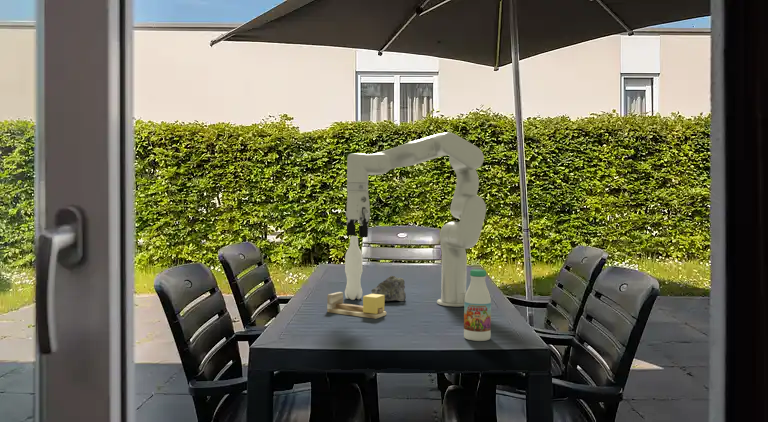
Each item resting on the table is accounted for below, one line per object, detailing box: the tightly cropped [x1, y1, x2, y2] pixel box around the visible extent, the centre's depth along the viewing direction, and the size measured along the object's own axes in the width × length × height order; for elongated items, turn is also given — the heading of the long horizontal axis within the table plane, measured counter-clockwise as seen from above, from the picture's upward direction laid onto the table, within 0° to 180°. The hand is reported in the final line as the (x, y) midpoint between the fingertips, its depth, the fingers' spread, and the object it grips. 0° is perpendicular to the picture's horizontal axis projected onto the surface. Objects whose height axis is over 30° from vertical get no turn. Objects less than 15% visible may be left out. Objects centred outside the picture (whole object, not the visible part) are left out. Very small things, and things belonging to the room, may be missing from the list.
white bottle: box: [344, 235, 364, 301], centre depth 223 cm, size 7×7×25 cm
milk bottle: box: [463, 269, 492, 342], centre depth 163 cm, size 8×8×20 cm
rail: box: [326, 291, 387, 320], centre depth 196 cm, size 20×7×6 cm, turn 60°
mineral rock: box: [370, 275, 407, 302], centre depth 220 cm, size 13×11×10 cm
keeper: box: [362, 293, 386, 314], centre depth 192 cm, size 5×6×6 cm
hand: (357, 236), depth 199 cm, fingers open, 9 cm apart
